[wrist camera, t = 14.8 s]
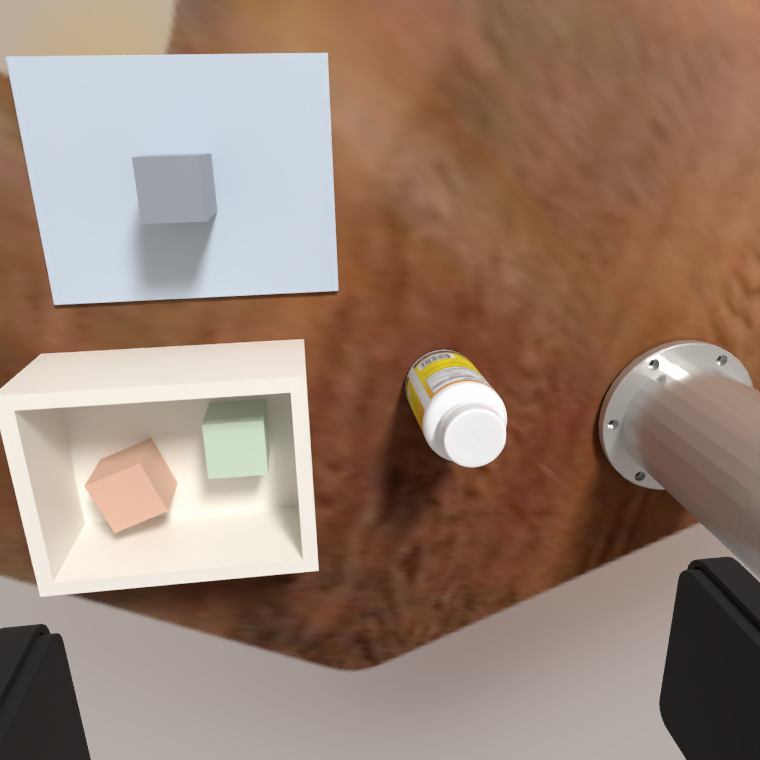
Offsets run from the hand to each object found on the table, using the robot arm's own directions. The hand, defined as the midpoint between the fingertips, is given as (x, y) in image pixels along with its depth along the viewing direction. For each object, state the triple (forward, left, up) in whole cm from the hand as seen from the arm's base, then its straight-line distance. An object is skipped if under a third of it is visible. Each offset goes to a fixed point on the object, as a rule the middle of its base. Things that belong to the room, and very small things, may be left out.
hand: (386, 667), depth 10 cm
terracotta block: (+14, +15, -37) cm, 42 cm away
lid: (+8, -5, -39) cm, 40 cm away
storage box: (+10, +13, -38) cm, 42 cm away
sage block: (+6, +12, -37) cm, 40 cm away
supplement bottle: (-9, +10, -38) cm, 41 cm away
